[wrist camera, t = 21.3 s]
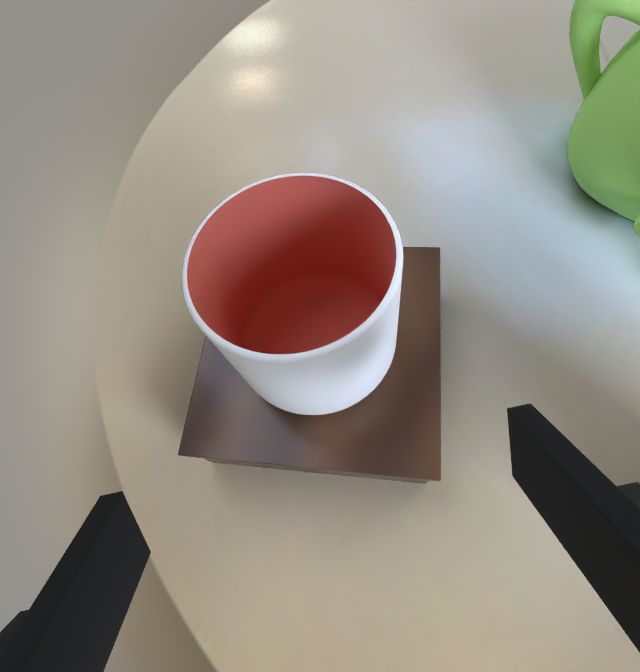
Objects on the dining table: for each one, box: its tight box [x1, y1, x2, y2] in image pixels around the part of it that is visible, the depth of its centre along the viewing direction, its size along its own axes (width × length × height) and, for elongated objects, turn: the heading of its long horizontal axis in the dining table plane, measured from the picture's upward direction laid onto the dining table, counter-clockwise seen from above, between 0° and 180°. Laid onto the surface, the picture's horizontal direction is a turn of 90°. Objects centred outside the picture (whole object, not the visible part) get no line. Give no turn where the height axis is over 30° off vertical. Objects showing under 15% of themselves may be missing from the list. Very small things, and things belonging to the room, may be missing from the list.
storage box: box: [178, 247, 441, 484], centre depth 31 cm, size 16×16×5 cm
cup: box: [182, 173, 403, 415], centre depth 24 cm, size 10×10×10 cm
